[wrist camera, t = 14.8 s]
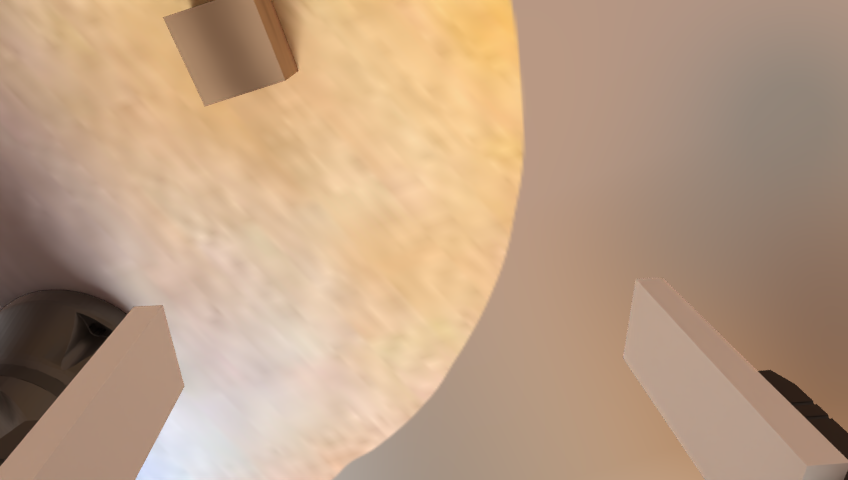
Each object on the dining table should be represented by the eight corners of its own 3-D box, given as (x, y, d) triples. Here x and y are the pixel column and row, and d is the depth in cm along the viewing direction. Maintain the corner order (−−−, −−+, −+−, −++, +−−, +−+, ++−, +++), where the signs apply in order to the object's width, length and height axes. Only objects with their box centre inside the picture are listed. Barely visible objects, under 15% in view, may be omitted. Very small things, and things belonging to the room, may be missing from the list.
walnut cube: (228, 93, 42) (204, 106, 37) (193, 15, 40) (163, 17, 34) (298, 70, 42) (285, 80, 36) (267, -9, 39) (249, -12, 34)
